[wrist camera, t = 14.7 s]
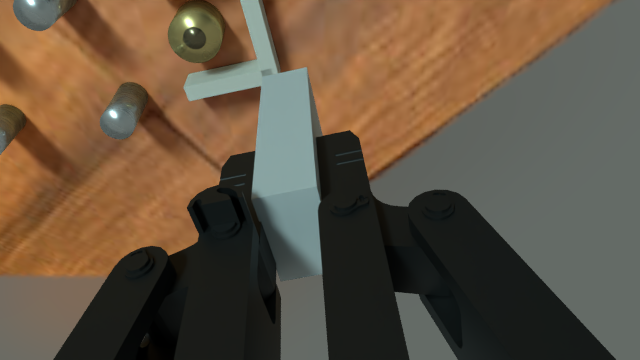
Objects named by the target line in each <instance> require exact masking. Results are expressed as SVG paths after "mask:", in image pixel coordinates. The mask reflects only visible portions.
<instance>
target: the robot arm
mask: <svg viewBox="0 0 640 360" xmlns="http://www.w3.org/2000/svg"><path fill="white" fill-rule="evenodd" d="M220 180H221V181H220V182H219V185H217V186H213V187H210V188H207V189H205V190H204V191H202V192H200V193H198V194H197V195H196V196H195V197H194V198H193V199H192V200H191V201H190V203H189V205H188V207H187V209H188V211H189V214H190V216H191V218H192V220H193V222H194V224H195V227H196V229H197V231H198V233H199V238H198V242H197V243H195V244H194V245H192V246H190V247H188V248H186V249H184V250H181V251H179V252H177V253H174V254H172V255H170V256H168V254H167V252H166V251H165V250H163V249H162V248H161V247H155V246H149V247H143V248H140V249H137V250H135V251H133V252H131V253H129V254H128V255H126V256H125V257H123V258H122V259H121V260H120V261H119V262H118V263H117V265H116V266H115V267H114V268H113V270H112V271H111V273H110V274H109V276H108V277H107V279H106V280H105V282H104V283H103V285H102V286H101V288H100V290H99V291H98V293H97V294H96V296H95V297H94V299H93V300H92V302H91V303H90V305H89V306H88V308H87V309H86V311H85V312H84V314H83V315H82V317H81V319H80V320H79V322H78V323H77V325H76V326H75V328H74V329H73V331H72V332H71V334H70V335H69V337H68V338H67V340H66V341H65V343H64V344H63V346H62V347H61V349H60V351H59V352H58V353H57V355H56V357H55V358H54V360H280V353H281V352H280V351H281V350H280V349H281V347H280V346H281V345H280V344H281V297H280V293H279V290H278V287H277V284H276V270H277V272H278V275H279V278H280V281H286V280H292V279H297V278H302V277H308V276H314V275H319V274H322V276H323V289H324V302H325V315H326V328H327V342H328V355H329V360H409V355H408V351H407V346H406V342H405V337H404V333H403V328H402V324H401V320H400V315H399V311H398V306H397V302H396V297H395V293H394V292H403V293H414V294H419V296H420V299H421V301H422V303H423V304H424V306H425V307H426V309H427V311H428V312H429V314H430V315H431V317H432V319H433V320H434V322H435V323H436V325H437V326H438V328H439V330H440V331H441V333H442V335H443V336H444V338H445V339H446V341H447V343H448V344H449V346H450V348H451V349H452V351H453V352H454V354H455V355H456V357H457V359H458V360H616V359H615V358H614V357H613V356H612V355H611V354H610V353H609V352H608V350H607V349H606V348H605V347H604V346H603V345H602V344H601V343H600V342H599V341H598V340H597V339H596V338H595V337H594V335H592V333H591V332H590V331H589V330H588V329H587V328H586V327H585V326H584V325H583V324H582V323H581V322H580V320H579V319H577V317H576V316H575V315H574V314H573V313H572V312H571V311H570V310H569V309H568V308H567V307H566V305H565V304H564V303H563V302H562V301H561V300H560V299H559V298H558V297H557V296H556V295H555V294H554V293H553V292H552V291H551V290H550V288H549V287H548V286H547V285H546V284H545V283H544V282H543V281H542V280H541V279H540V278H539V277H538V275H536V274H535V272H534V271H533V270H532V269H531V268H530V267H529V266H528V265H527V264H526V263H525V262H524V261H523V259H521V257H520V256H519V255H518V254H517V253H516V252H515V251H514V250H513V249H512V248H511V247H510V245H509V244H507V242H506V241H505V240H504V239H503V238H502V237H501V236H500V235H499V234H498V233H497V232H496V231H495V229H494V228H493V227H492V226H491V225H490V224H489V223H488V222H487V221H486V220H485V219H484V218H483V217H482V216H481V214H480V213H479V212H478V211H477V210H476V209H475V208H474V207H473V206H472V205H471V204H470V203H469V202H468V201H467V199H466V198H464V197H463V196H461V195H460V194H458V193H456V192H452V191H449V190H432V191H428V192H424V193H422V194H420V195H418V196H416V197H415V198H414V199H413V200H412V201H411V202H410V203H409V206H408V207H400V206H391V205H388V204H385V203H382V202H380V201H379V200H377V199H376V198H375V197H374V196H373V194H372V192H371V189H370V185H369V180H368V176H367V172H366V167H365V163H364V158H363V154H362V150H361V145H360V141H359V138H358V137H357V136H356V135H354V134H353V133H352V132H351V131H350V130H349V131H344V132H340V133H335V134H330V135H325V136H323V135H322V131H321V126H320V122H319V118H318V114H317V109H316V105H315V101H314V96H313V92H312V88H311V83H310V79H309V75H308V71H307V67H306V68H301V69H296V70H292V71H287V72H282V73H278V74H273V75H268V76H264V77H262V85H261V96H260V107H259V118H258V129H257V140H256V151H252V152H247V153H242V154H237V155H233V156H230V158H229V159H228V160H227V162H226V163H225V164H224V166H223V167H222V171H221V177H220ZM145 335H146V336H145ZM144 337H145V338H144Z"/></svg>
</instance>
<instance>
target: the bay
mask: <svg viewBox="0 0 640 360" xmlns="http://www.w3.org/2000/svg"><path fill="white" fill-rule="evenodd" d="M240 1H241V5H242V8H243V12H244V15H245V18H246V22H247V25H248V29H249V32H250V36H251V39H252V42H253V46H254V49H255V53H256V56H257V59H256V60H251V61H247V62H242V63H238V64H233V65H228V66H224V67H219V68H214V69H210V70H205V71H201V72H196V73H191V74H188V77H187V80H186V82H185V85H184V89H185V92H186V94H187V97H188V99H189V101H192V100H197V99H202V98H206V97H211V96H216V95H221V94H225V93H230V92H235V91H239V90H244V89H249V88H254V87H258V86H261V85H262V77H264V76H268V75H273V74H278V73H280V65H279V62H278V58H277V54H276V50H275V46H274V43H273V39H272V35H271V31H270V28H269V24H268V20H267V16H266V13H265V9H264V5H263V1H262V0H240Z"/></svg>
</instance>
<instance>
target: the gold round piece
mask: <svg viewBox="0 0 640 360" xmlns="http://www.w3.org/2000/svg"><path fill="white" fill-rule="evenodd" d="M224 31H225V22H224V19H223V16H222V14H221V13H220V11H219V10H218V9H217V8H216V7H215V6H214V5H212V4H211V3H209V2H206V1H203V0H192V1H188V2H186V3H185V4H183V5H182V6H181V7H180V8H179V10H178V11H177V13H176V15H175V17H174V19H173V20H172V22H171V24H170V26H169V30H168V39H169V43H170V45H171V47H172V49H173V50H174V52H175V53H176V54H177V55H178V56H180V57H181V58H182V59H184V60H186V61H189V62H193V63H202V62H206V61H209V60H210V59H212V58H213V57H214V56H215V55H216V54H217V53H218V51H219V49H220V46H221V42H222V39H223V35H224Z"/></svg>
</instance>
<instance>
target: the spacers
mask: <svg viewBox="0 0 640 360" xmlns="http://www.w3.org/2000/svg"><path fill="white" fill-rule="evenodd" d="M76 2H77V0H14V3H13V10H14V13H15V15H16V17H17V19H18V20H19V21H20V22H21V23H22V24H23V25H24V26H26V27H27V28H29V29H32V30H36V31H43V30H46V29H48V28H49V27H50V26H51V25H53V24H54V23H55V22H56V21H57V20H58V19H59V18H60V17H61V16H63V15H64V14H65V13H66V12H67V11H68V10H69V9H70V8H71V7H73V6H74V5H75V4H76ZM147 102H148V94H147V92H146V90H145V89H144V88H143V87H142V86H141V85H139V84H137V83H133V82H127V83H124V84H122V85H121V86H120V87H119V88H118V90H117V92H116V93H115V95H114V97H113V98H112V100H111V102H110V103H109V105H108V106H107V108H106V110H105V111H104V113H103V115H102V116H101V118H100V126H101V129H102V130H103V132H104V133H105V134H107V135H108V136H110V137H112V138H115V139H125V138H128V137H129V136H130V135H131V134H132V133H133V131H134V129H135V127H136V125H137V123H138V121H139V118H140V116H141V114H142V112H143V110H144V108H145V106H146V104H147ZM25 124H26V118H25V116H24V114H23V113H22V112H21V111H20V110H19V109H18V108H16V107H14V106H12V105H7V104H3V105H0V155H1V153H2V152H3V151H4V150H5V149H6V147H7V146H8V145H9V144H10V143H11V141H12V140H13V139H14V138H15V137H16V136H17V134H18V133H19V132H20V131H21V130H22V128H23V127H24V126H25Z"/></svg>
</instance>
